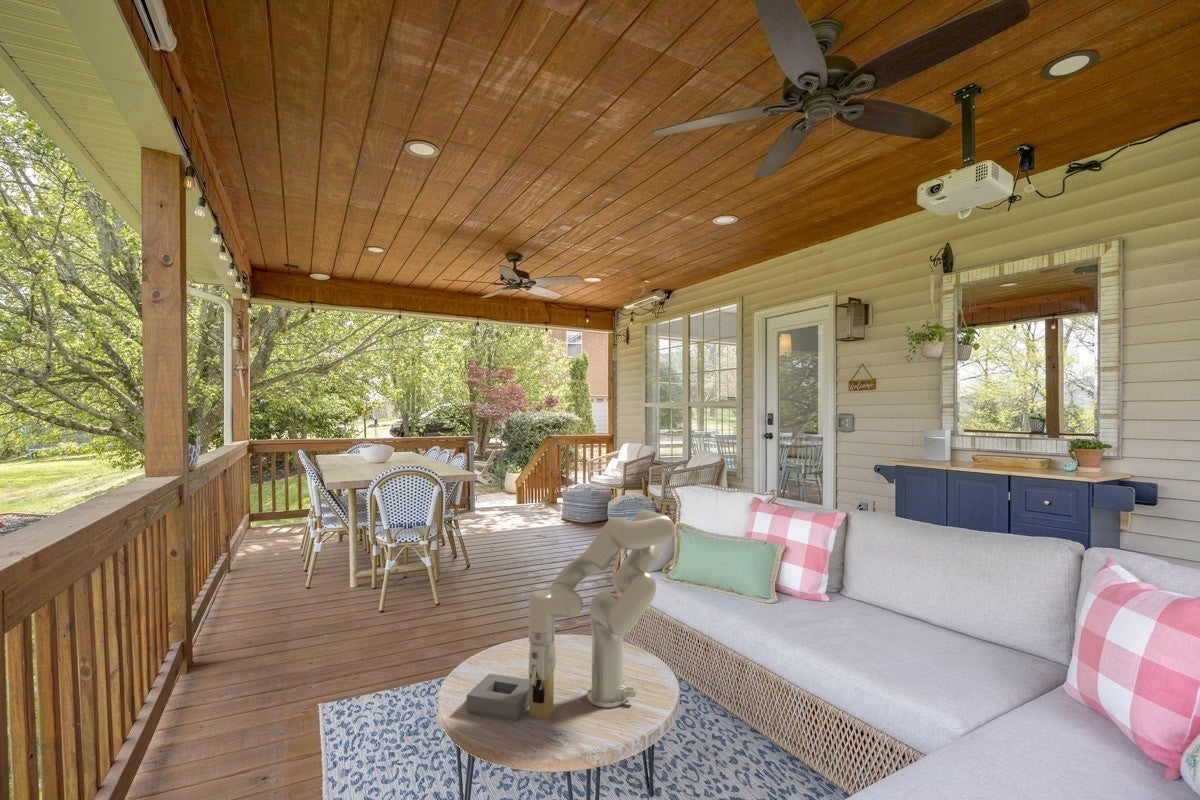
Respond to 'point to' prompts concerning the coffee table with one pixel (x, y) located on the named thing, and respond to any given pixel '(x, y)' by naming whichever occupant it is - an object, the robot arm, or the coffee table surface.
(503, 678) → the well block
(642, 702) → the coffee table surface
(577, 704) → the coffee table surface
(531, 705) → the tall yellow pillar
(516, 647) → the coffee table surface
